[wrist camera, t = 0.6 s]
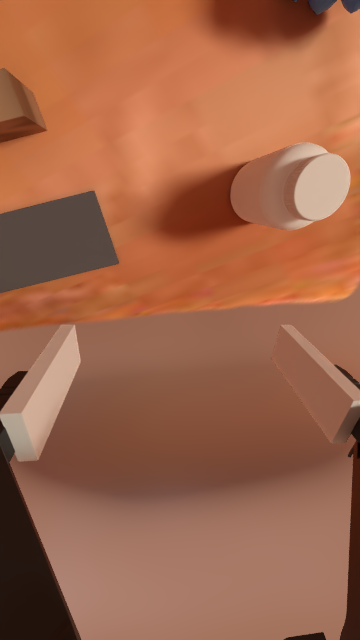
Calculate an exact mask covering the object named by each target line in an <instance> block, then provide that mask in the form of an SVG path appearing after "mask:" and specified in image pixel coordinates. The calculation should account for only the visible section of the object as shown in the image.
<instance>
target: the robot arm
mask: <svg viewBox="0 0 360 640" xmlns="http://www.w3.org/2000/svg"><path fill="white" fill-rule="evenodd" d="M271 359H272V361H273V362H274V363H275V365H276V366H277V368H278V369H279V370H280V372H281V373H282V375H283V376H284V377H285V379H286V380H287V382H288V383H289V384H290V386H291V387H292V389H293V390H294V392H295V393H296V394H297V396H298V397H299V399H300V400H301V401H302V403H303V404H304V405H305V407H306V408H307V410H308V411H309V413H310V414H311V415H312V417H313V418H314V419H315V421H316V423H317V424H318V425H319V427H320V428H321V429H322V431H323V432H324V434H325V435H326V437H327V438H328V439H329V441H330V442H331V443H345V442H347V440H348V438H349V436H350V435H351V434H352V435H353V436H354V438H355V439H356V442H355V444H354V445H353V447H352V449H351V450H350V452H349V454H348V457H351V455H352V454H353V477H352V500H351V523H350V525H351V526H350V547H349V572H348V594H347V614H346V620H345V624H344V626H343V629H342V632H341V636H340V640H360V384H359V382H358V381H356V380H355V379H353V377H352V376H351V375H350V374H349V373H348V372H347V371H346V370H344V369H342V368H341V367H339V366H337V365H333V364H332V363H331V362H330V361H329V360H328V359H327V358H326V357H324V356H323V355H322V354H321V353H320V352H319V351H318V350H317V349H316V348H315V347H314V346H313V345H312V344H311V343H310V342H309V341H308V340H307V339H306V338H305V337H304V336H303V335H301V334H300V333H299V332H298V331H297V330H296V329H295V328H294V327H293V326H292V325H280V329H279V332H278V336H277V339H276V343H275V346H274V350H273V353H272V357H271ZM80 362H81V360H80V354H79V348H78V342H77V336H76V330H75V325H61V326H60V327H59V329H58V330H57V331H56V333H55V334H54V336H53V337H52V338H51V340H50V341H49V343H48V344H47V346H46V347H45V348H44V350H43V351H42V353H41V354H40V356H39V357H38V358H37V360H36V362H35V363H34V364H33V366H32V367H31V369H30V370H29V371H18V372H17V373H15V374H14V375H13V376H11V377H10V378H8V380H7V381H6V382H5V383H4V385H3V386H2V388H1V389H0V640H81V638H80V635H79V633H78V630H77V628H76V625H75V623H74V620H73V618H72V616H71V613H70V611H69V608H68V606H67V603H66V601H65V599H64V596H63V593H62V591H61V589H60V586H59V584H58V581H57V579H56V576H55V574H54V571H53V569H52V566H51V564H50V561H49V559H48V557H47V554H46V552H45V549H44V547H43V544H42V542H41V539H40V537H39V534H38V532H37V529H36V527H35V525H34V522H33V520H32V517H31V515H30V512H29V510H28V507H27V505H26V502H25V500H24V498H23V495H22V493H21V490H20V488H19V485H18V483H17V481H16V478H15V475H14V473H13V471H12V468H11V466H10V463H9V462H10V460H11V458H12V457H13V455H14V453H15V455H16V457H17V460H18V461H34V460H38V459H39V457H40V455H41V452H42V450H43V447H44V445H45V443H46V440H47V438H48V436H49V434H50V431H51V429H52V427H53V424H54V422H55V419H56V417H57V415H58V413H59V410H60V408H61V406H62V404H63V401H64V399H65V396H66V394H67V392H68V390H69V387H70V385H71V383H72V380H73V378H74V376H75V374H76V371H77V369H78V367H79V364H80ZM284 640H326V638H325V636H324V633H323V632H321V633H314V634H308V635H302V636H295V637H288V638H286V639H284Z"/></svg>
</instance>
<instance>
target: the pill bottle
mask: <svg viewBox="0 0 360 640" xmlns="http://www.w3.org/2000/svg"><path fill="white" fill-rule="evenodd" d="M349 186H350V171H349V168H348V165H347V163H346V162H345V161H344V159H342V157H340V156H338V155H337V154H336V155H335V154H332V153H328V152H327V151H326V150H325V149H324V148H322V147H321V146H319V145H316V144H313V143H298V144H294V145H291V146H288V147H286V148H283V149H281V150H278V151H275V152H273V153H270V154H268V155H265V156H263V157H260V158H257V159H255V160H252V161H250V162H249V163H247V164H246V165H245V166H243V167H242V168H241V169H240V170H239V172H238V173H237V175H236V176H235V178H234V180H233V183H232V186H231V192H230V198H231V204H232V207H233V209H234V211H235V213H236V214H237V215H238V216H239V217H240V218H242V219H243V220H245V221H247V222H251V223H255V224H260V225H264V226H268V227H272V228H277V229H281V230H296V229H300V228H302V227H305V226H307V225H309V224H311V223H312V222H314V221H319V220H322V219H325V218H326V217H328V216H330V215H331V214H333V213H334V212H335V211H336V210H337V209H338V208H339V207H340V205H341V204H342V203H343V201H344V199H345V197H346V195H347V193H348V190H349Z"/></svg>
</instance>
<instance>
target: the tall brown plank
mask: <svg viewBox="0 0 360 640" xmlns="http://www.w3.org/2000/svg"><path fill="white" fill-rule="evenodd" d="M43 131H47V128H46V125H45V123H44V120H43V117H42V115H41V112H40V110H39V107H38V104H37V102H36V99H35V97H34V94H33V92H32V91H30V90H29V89H28V88H27V87H26V86H25V85H23V84H22V83H21V82H20V81H19V80H18V79H16V78H15V77H14V76H13V75H12V74H11V73H9V72H8V71H7V70H6V69H5V68H2V69H0V142H4V141H8V140H12V139H16V138H20V137H24V136H27V135H31V134H35V133H39V132H43Z"/></svg>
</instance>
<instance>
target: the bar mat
mask: <svg viewBox="0 0 360 640" xmlns="http://www.w3.org/2000/svg"><path fill="white" fill-rule="evenodd" d="M116 264H119V261H118V258H117V256H116V253H115V250H114V247H113V244H112V241H111V238H110V235H109V232H108V229H107V226H106V224H105V221H104V218H103V215H102V212H101V209H100V206H99V203H98V200H97V197H96V194H95V192H94V191H90V192H86V193H82V194H78V195H74V196H70V197H66V198H62V199H58V200H54V201H50V202H46V203H42V204H38V205H34V206H30V207H26V208H22V209H18V210H15V211H11V212H7V213H3V214H0V293H2V292H6V291H10V290H14V289H18V288H22V287H26V286H31V285H35V284H39V283H43V282H47V281H51V280H55V279H59V278H63V277H67V276H71V275H75V274H79V273H83V272H87V271H91V270H95V269H99V268H103V267H107V266H112V265H116Z"/></svg>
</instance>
